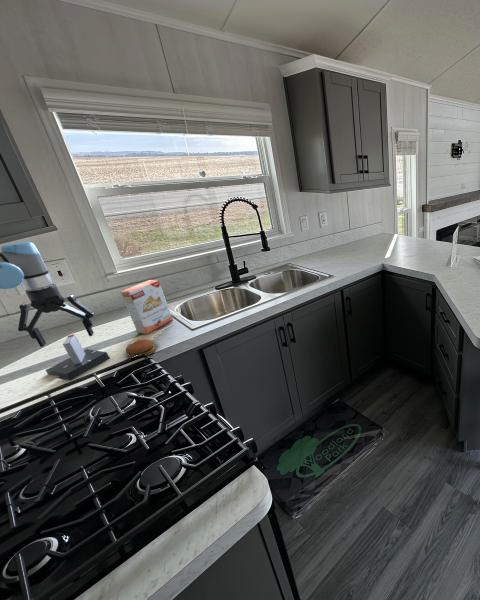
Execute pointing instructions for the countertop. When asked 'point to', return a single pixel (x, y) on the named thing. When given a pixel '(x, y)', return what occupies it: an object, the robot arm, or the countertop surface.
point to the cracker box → (147, 306)
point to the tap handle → (74, 349)
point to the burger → (140, 347)
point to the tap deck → (78, 365)
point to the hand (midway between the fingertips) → (68, 339)
